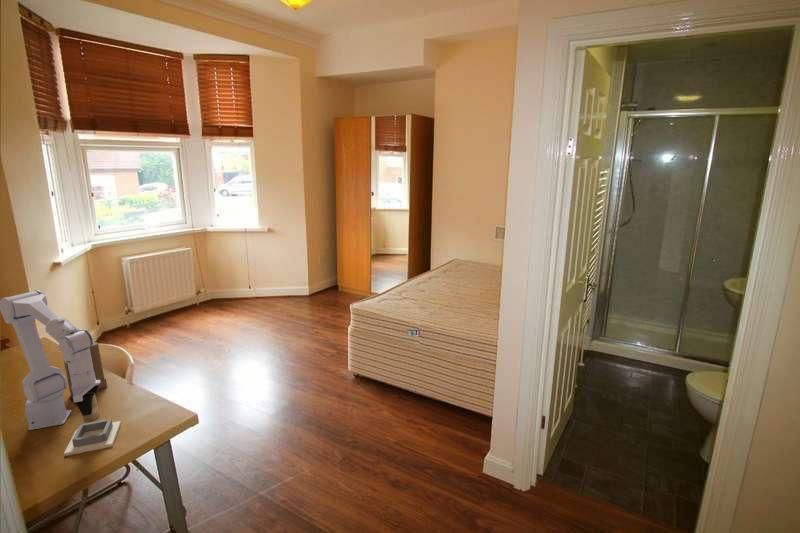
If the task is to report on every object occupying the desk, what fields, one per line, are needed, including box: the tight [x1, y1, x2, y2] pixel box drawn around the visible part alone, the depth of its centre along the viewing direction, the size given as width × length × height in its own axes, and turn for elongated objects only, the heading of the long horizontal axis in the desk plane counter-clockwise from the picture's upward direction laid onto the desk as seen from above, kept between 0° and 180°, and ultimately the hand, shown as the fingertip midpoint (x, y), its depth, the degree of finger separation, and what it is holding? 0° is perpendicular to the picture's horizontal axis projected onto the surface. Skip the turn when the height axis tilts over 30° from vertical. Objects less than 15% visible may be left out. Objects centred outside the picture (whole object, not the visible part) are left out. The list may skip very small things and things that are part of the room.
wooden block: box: [63, 341, 108, 396], centre depth 154 cm, size 4×11×18 cm, turn 139°
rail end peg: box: [82, 392, 100, 424], centre depth 128 cm, size 4×4×8 cm
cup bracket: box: [63, 418, 122, 457], centre depth 130 cm, size 12×12×4 cm
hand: (89, 410), depth 128 cm, fingers closed on rail end peg, 4 cm apart
